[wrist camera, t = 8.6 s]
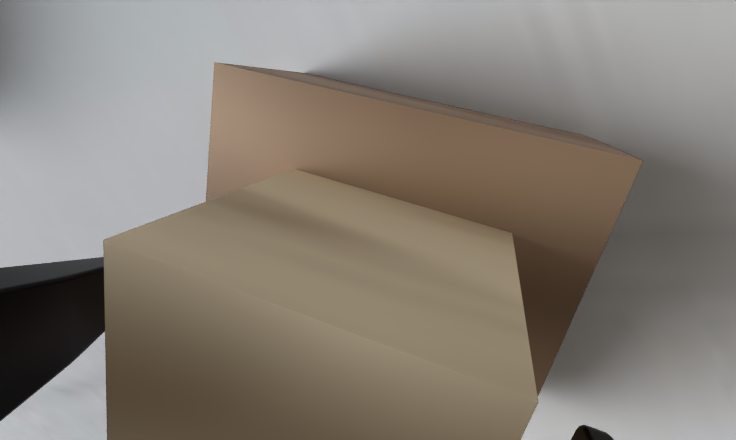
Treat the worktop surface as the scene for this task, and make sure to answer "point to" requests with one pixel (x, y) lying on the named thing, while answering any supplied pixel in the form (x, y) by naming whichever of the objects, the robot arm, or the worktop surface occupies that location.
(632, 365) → the worktop surface
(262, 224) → the maple cube
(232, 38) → the worktop surface
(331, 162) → the walnut block
